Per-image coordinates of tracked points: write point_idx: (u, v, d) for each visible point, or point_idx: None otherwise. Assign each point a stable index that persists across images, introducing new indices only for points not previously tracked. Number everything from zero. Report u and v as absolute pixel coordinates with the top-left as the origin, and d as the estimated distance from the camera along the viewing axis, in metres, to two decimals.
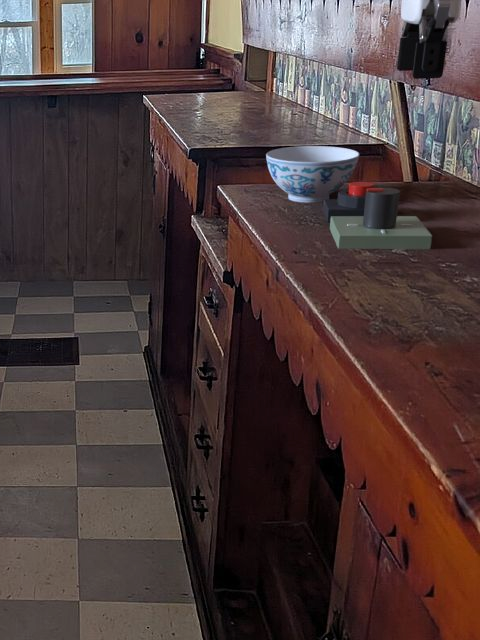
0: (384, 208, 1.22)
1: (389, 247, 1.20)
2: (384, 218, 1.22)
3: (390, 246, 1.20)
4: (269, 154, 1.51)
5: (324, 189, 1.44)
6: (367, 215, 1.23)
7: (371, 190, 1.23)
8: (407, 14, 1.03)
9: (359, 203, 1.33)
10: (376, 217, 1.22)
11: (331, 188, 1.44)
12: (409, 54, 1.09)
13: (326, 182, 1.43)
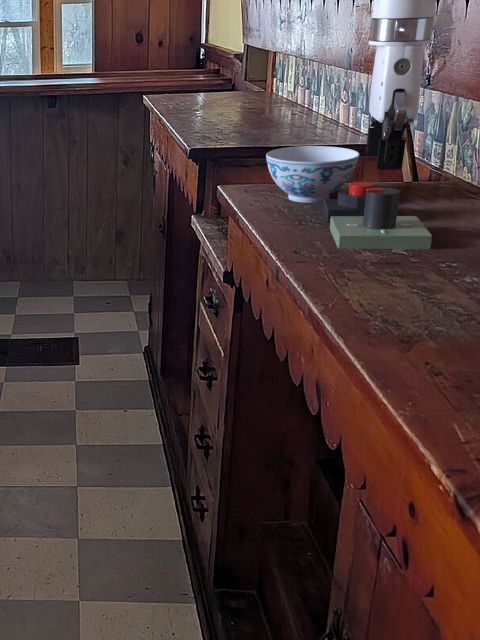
0: (384, 208, 1.22)
1: (389, 247, 1.20)
2: (384, 218, 1.22)
3: (390, 246, 1.20)
4: (269, 154, 1.51)
5: (324, 189, 1.44)
6: (367, 215, 1.23)
7: (371, 190, 1.23)
8: (373, 112, 1.19)
9: (359, 203, 1.33)
10: (376, 217, 1.22)
11: (331, 188, 1.44)
12: (376, 142, 1.25)
13: (326, 182, 1.43)
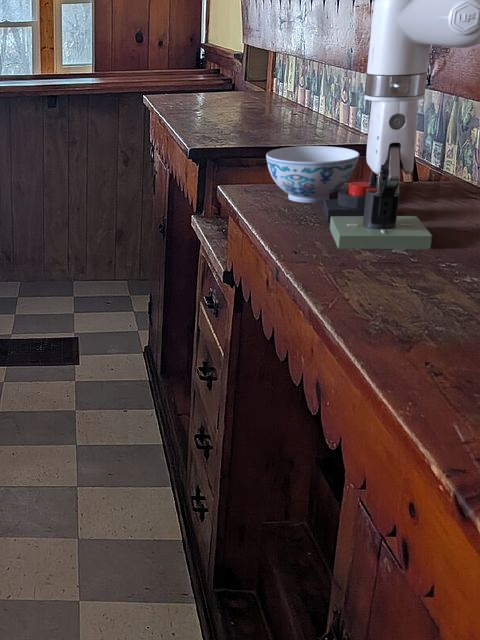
0: None
1: (389, 247, 1.20)
2: None
3: (390, 246, 1.20)
4: (269, 154, 1.51)
5: (324, 189, 1.44)
6: (367, 215, 1.23)
7: (371, 190, 1.23)
8: (370, 163, 1.21)
9: (359, 203, 1.33)
10: None
11: (331, 188, 1.44)
12: None
13: (326, 182, 1.43)
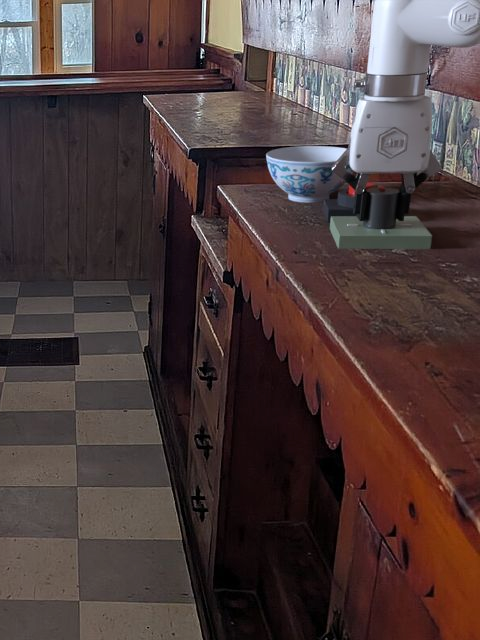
0: None
1: (389, 247, 1.20)
2: None
3: (390, 246, 1.20)
4: (269, 154, 1.51)
5: (324, 189, 1.44)
6: None
7: None
8: None
9: None
10: None
11: (331, 188, 1.44)
12: None
13: (326, 182, 1.43)
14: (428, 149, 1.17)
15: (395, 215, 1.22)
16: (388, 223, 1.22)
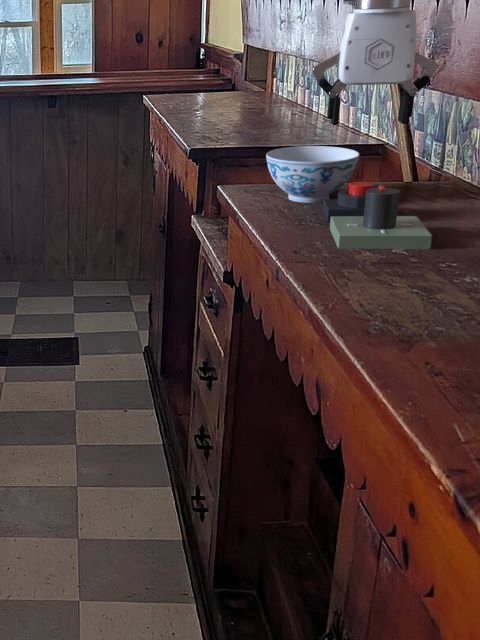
0: (365, 205, 1.24)
1: (389, 247, 1.20)
2: (364, 215, 1.24)
3: (390, 246, 1.20)
4: (269, 154, 1.51)
5: (324, 189, 1.44)
6: None
7: None
8: None
9: (359, 203, 1.33)
10: None
11: (331, 188, 1.44)
12: (400, 108, 1.29)
13: (326, 182, 1.43)
14: (413, 60, 1.23)
15: (395, 215, 1.22)
16: (388, 223, 1.22)
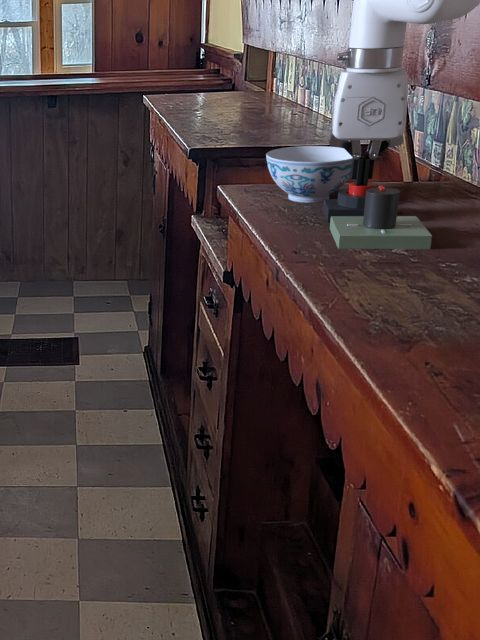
0: (365, 205, 1.24)
1: (389, 247, 1.20)
2: (364, 215, 1.24)
3: (390, 246, 1.20)
4: (269, 154, 1.51)
5: (324, 189, 1.44)
6: None
7: None
8: None
9: (359, 203, 1.33)
10: None
11: (331, 188, 1.44)
12: None
13: (326, 182, 1.43)
14: (404, 117, 1.27)
15: (395, 215, 1.22)
16: (388, 223, 1.22)
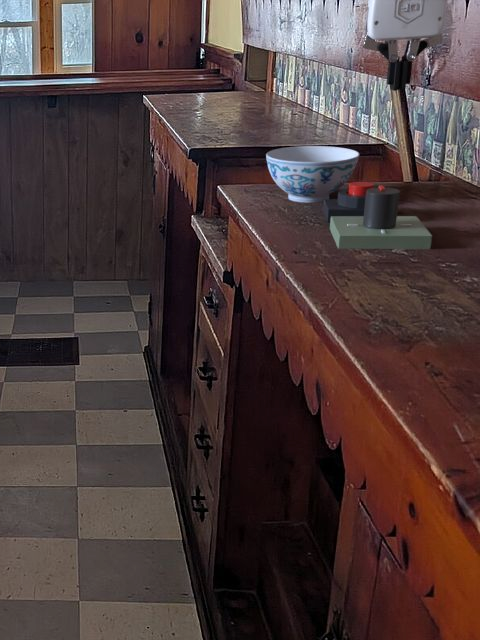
0: (365, 205, 1.24)
1: (389, 247, 1.20)
2: (364, 215, 1.24)
3: (390, 246, 1.20)
4: (269, 154, 1.51)
5: (324, 189, 1.44)
6: None
7: None
8: None
9: (359, 203, 1.33)
10: None
11: (331, 188, 1.44)
12: None
13: (326, 182, 1.43)
14: (444, 12, 1.21)
15: (395, 215, 1.22)
16: (388, 223, 1.22)
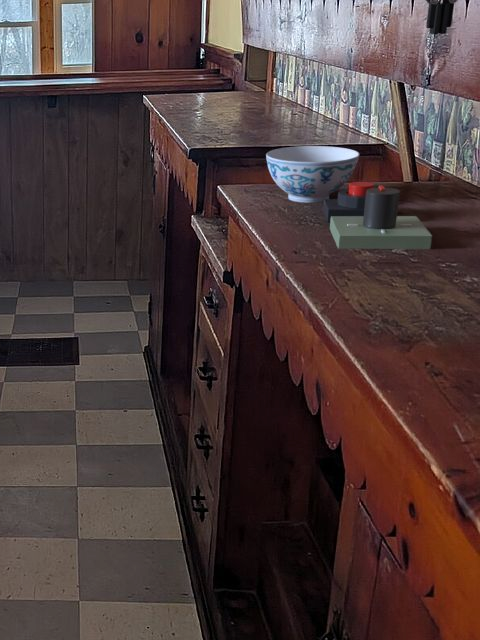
0: (365, 205, 1.24)
1: (389, 247, 1.20)
2: (364, 215, 1.24)
3: (390, 246, 1.20)
4: (269, 154, 1.51)
5: (324, 189, 1.44)
6: None
7: None
8: None
9: (359, 203, 1.33)
10: None
11: (331, 188, 1.44)
12: None
13: (326, 182, 1.43)
14: None
15: (395, 215, 1.22)
16: (388, 223, 1.22)
